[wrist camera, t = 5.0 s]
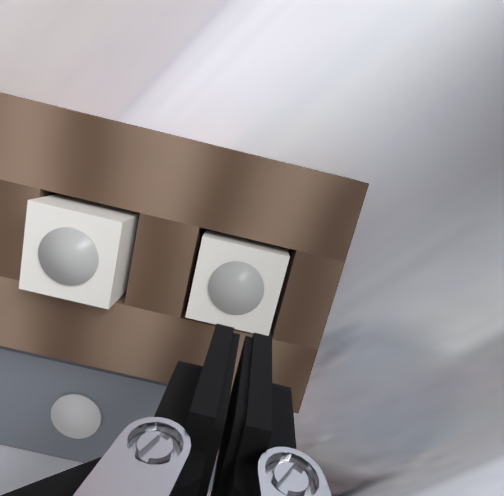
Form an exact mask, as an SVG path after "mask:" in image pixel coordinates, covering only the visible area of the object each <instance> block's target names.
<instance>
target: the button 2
mask: <svg viewBox="0 0 504 496" xmlns="http://www.w3.org/2000/svg"><path fill="white" fill-rule="evenodd" d="M289 259H290V255H289V252H288V248H284V247H280V246H276V245H272V244H268V243H264V242H259V241H255V240H251V239H247V238H243V237H238V236H234V235H230V234H226V233H222V232H218V231H213V230H209V229H207V231H206V232H205V233H204V235H203V236H202V241H201V246H200V250H199V255H198V260H197V264H196V269H195V274H194V278H193V283H192V288H191V292H190V297H189V302H188V306H187V311H186V316H185V318H190V319H194V320H198V321H203V322H207V323H211V324H215V325H216V323H217V324H221V325H225V326H229V327H234V329H237V330H241V331H246V332H250V333H259V334H263V335H267V336H269V332H270V328H271V325H272V321H273V317H274V314H275V310H276V306H277V303H278V299H279V295H280V292H281V288H282V284H283V281H284V277H285V273H286V270H287V266H288V262H289Z"/></svg>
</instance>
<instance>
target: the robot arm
mask: <svg viewBox="0 0 504 496" xmlns="http://www.w3.org/2000/svg"><path fill="white" fill-rule="evenodd" d="M233 331H234V327H229V326H225V325H221V324H217V323H216V326H215V329H214V333H213V336H212V339H211V342H210V346H209V349H208V352H207V355H206V359H205V362H204V365H203V366H200V365H195V364H191V363H187V362H183V361H178V363H177V365H176V367H175V369H174V372H173V374H172V376H171V378H170V381H169V383H168V385H167V388H166V390H165V392H164V395H163V397H162V399H161V401H160V404H159V406H158V408H157V411H156V413H155V415H154V417H147V418H142V419H138V420H136V421H134V422H132V423H130V424H129V425H128V426H127V427H126V428H125V429H124V430H123V431H122V432H121V434H120V435H119V436H118V438H117V439H116V440H115V441H114V443H113V444H112V445H111V447H110V448H109V449H108V451H107V452H106V453H105V454H104V456H102V457H100V458H97V459H95V460H92V461H89V462H87V463H84V464H82V465H79V466H76V467H74V468H71V469H68V470H66V471H63V472H61V473H58V474H55V475H53V476H50V477H48V478H45V479H42V480H40V481H37V482H35V483H32V484H29V485H27V486H24V487H22V488H19V489H16V490H14V491H11V492H9V493H6V494H3V495H1V496H207V492H208V488H209V484H210V480H211V477H212V473H213V469H214V465H215V461H216V457H217V462H216V468H215V474H214V480H213V485H212V491H211V496H331V493H330V490H329V487H328V484H327V481H326V478H325V476H324V474H323V472H322V470H321V468H320V467H319V466H318V465H317V463H316V462H315V461H314V460H313V459H311V458H310V457H309V456H308V455H306V454H305V453H303V452H301V451H298V450H296V441H295V429H294V417H293V405H292V393H291V388H290V387H288V386H283V385H279V384H275V383H272V337H271V336H267V335H263V334H259V333H253V336H252V337H250V336H245V340H244V343H243V347H242V351H241V355H240V359H239V363H238V367H237V371H236V374H235V378H234V382H233V386H232V381H233V375H234V369H235V363H236V357H237V350H238V344H239V338H240V334H237V333H233ZM231 387H232V390H231ZM230 393H231V394H230ZM218 450H219V451H218ZM217 453H218V456H217Z"/></svg>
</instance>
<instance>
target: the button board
mask: <svg viewBox="0 0 504 496" xmlns="http://www.w3.org/2000/svg"><path fill="white" fill-rule="evenodd" d="M368 185H369V184H368V183H364V182H361V181H357V180H353V179H349V178H345V177H341V176H337V175H333V174H329V173H325V172H321V171H317V170H313V169H309V168H305V167H301V166H297V165H293V164H288V163H284V162H280V161H276V160H272V159H268V158H264V157H260V156H256V155H252V154H248V153H244V152H240V151H236V150H232V149H228V148H223V147H219V146H215V145H211V144H207V143H203V142H199V141H195V140H191V139H187V138H183V137H179V136H175V135H171V134H167V133H163V132H158V131H154V130H150V129H146V128H142V127H138V126H134V125H130V124H126V123H122V122H118V121H114V120H110V119H106V118H102V117H98V116H94V115H89V114H85V113H81V112H77V111H73V110H69V109H65V108H61V107H57V106H53V105H49V104H45V103H41V102H37V101H33V100H29V99H24V98H20V97H16V96H12V95H8V94H4V93H0V346H3V347H8V348H12V349H17V350H21V351H25V352H30V353H34V354H39V355H43V356H48V357H52V358H56V359H61V360H65V361H70V362H74V363H78V364H83V365H87V366H92V367H96V368H100V369H105V370H109V371H114V372H118V373H123V374H127V375H131V376H136V377H140V378H145V379H149V380H153V381H158V382H162V383H167V384H168V383H169V381H170V378H171V376H172V374H173V372H174V369H175V367H176V365H177V363H178V361H183V362H187V363H191V364H195V365H200V366H203V365H204V362H205V359H206V355H207V352H208V349H209V346H210V342H211V339H212V336H213V333H214V329H215V326H216V325H215V324H211V323H207V322H203V321H198V320H194V319H190V318H185V316H186V311H187V306H188V302H189V297H190V292H191V288H192V283H193V278H194V274H195V269H196V264H197V260H198V255H199V250H200V246H201V241H202V236H203V235H204V231H205V229H209V230H213V231H218V232H222V233H226V234H230V235H234V236H238V237H243V238H247V239H251V240H255V241H259V242H264V243H268V244H272V245H276V246H280V247H284V248H289V255H290V259H289V262H288V266H287V270H286V273H285V277H284V281H283V284H282V288H281V292H280V295H279V299H278V303H277V306H276V310H275V314H274V317H273V321H272V325H271V328H270V332H269V336H271V337H272V383H275V384H279V385H283V386H288V387H290V388H291V393H292V405H293V412H295V413H299V409H300V406H301V403H302V400H303V396H304V393H305V390H306V387H307V383H308V380H309V377H310V374H311V370H312V367H313V364H314V361H315V357H316V354H317V351H318V348H319V344H320V341H321V338H322V335H323V331H324V328H325V325H326V322H327V318H328V315H329V312H330V309H331V305H332V302H333V299H334V296H335V292H336V289H337V286H338V283H339V279H340V276H341V273H342V270H343V266H344V263H345V260H346V257H347V253H348V250H349V247H350V244H351V240H352V237H353V234H354V231H355V227H356V224H357V221H358V218H359V214H360V211H361V208H362V205H363V201H364V198H365V195H366V192H367V188H368ZM55 194H63V195H67V196H72V197H76V198H80V199H84V200H88V201H92V202H97V203H101V204H105V205H109V206H113V207H117V208H122V209H126V210H130V211H134V212H138V213H140V216H139V222H138V227H137V233H136V239H135V245H134V251H133V257H132V262H131V268H130V274H129V280H128V286H127V291H126V292H125V293H124V294H123V295H122V296H121V297H120V298H119V299H118V300H117V301H116V302H115V303H114V304H113V305H112V306H111V307H110V308H109V309H104V308H100V307H96V306H91V305H87V304H83V303H78V302H74V301H70V300H65V299H61V298H57V297H52V296H48V295H44V294H39V293H35V292H31V291H27V290H22V289H19V281H20V271H21V261H22V251H23V241H24V231H25V222H26V212H27V202H28V200H30V199H35V198H40V197H45V196H50V195H55ZM233 333H237V334H240V338H239V344H238V350H237V357H236V363H235V369H234V375H233V381H232V386H233V382H234V378H235V374H236V371H237V367H238V363H239V359H240V355H241V351H242V347H243V343H244V340H245V336H250V337H252V336H253V333H250V332H246V331H241V330H237V329H234V331H233ZM231 390H232V387H231ZM230 394H231V393H230Z"/></svg>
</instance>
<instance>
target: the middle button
mask: <svg viewBox="0 0 504 496" xmlns="http://www.w3.org/2000/svg"><path fill="white" fill-rule="evenodd" d="M139 216H140V213H138V212H134V211H130V210H126V209H122V208H117V207H113V206H109V205H105V204H101V203H97V202H92V201H88V200H84V199H80V198H76V197H72V196H67V195H63V194H55V195H50V196H45V197H40V198H35V199H30V200H28V202H27V212H26V222H25V231H24V241H23V251H22V261H21V271H20V281H19V289H22V290H27V291H31V292H35V293H39V294H44V295H48V296H52V297H57V298H61V299H65V300H70V301H74V302H78V303H83V304H87V305H91V306H96V307H100V308H104V309H109V308H110V307H111V306H112V305H113V304H114V303H115V302H116V301H117V300H118V299H119V298H120V297H121V296H122V295H123V294H124V293H125V292H126V291H127V286H128V280H129V274H130V268H131V262H132V257H133V251H134V245H135V239H136V233H137V227H138V222H139Z"/></svg>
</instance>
